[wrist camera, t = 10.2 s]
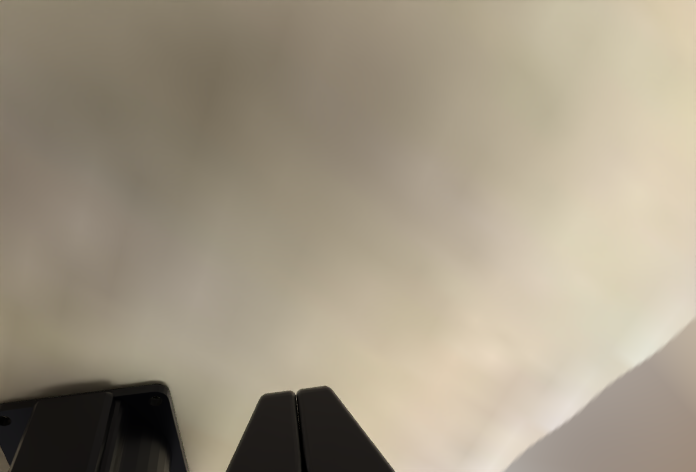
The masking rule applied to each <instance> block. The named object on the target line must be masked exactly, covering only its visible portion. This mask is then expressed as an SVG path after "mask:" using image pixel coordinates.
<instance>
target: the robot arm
mask: <svg viewBox="0 0 696 472" xmlns="http://www.w3.org/2000/svg"><path fill="white" fill-rule="evenodd" d="M154 396H158V397H160V398H158V399H156V398H153V397H154ZM296 398H297V401H296ZM297 408H298V410H297ZM3 416H6V417H9V418H5V417H3ZM298 418H299V420H298ZM299 428H300V429H299ZM0 446H1V448H2V450H3V453H4V455H5V457H6V459H7V461H8V463H9V465H10V469H9V471H8V472H189V468H188V464H187V460H186V456H185V452H184V448H183V443H182V439H181V435H180V431H179V427H178V423H177V419H176V415H175V411H174V406H173V402H172V398H171V394H170V391H169V389H168V388H167V387H165V386H163V385H160V384H152V385H144V386H136V387H128V388H121V389H113V390H105V391H97V392H89V393H81V394H73V395H65V396H58V397H50V398H42V399H34V400H26V401H18V402H10V403H3V404H0ZM226 472H395V471H394V469H393V468H392V467H391V466H390V464H389V463H388V462H387V460H386V459H385V458H384V456H383V455H382V454H381V453H380V451H379V450H378V449H377V447H376V446H375V445H374V443H373V442H372V441H371V440H370V438H369V437H368V436H367V434H366V433H365V432H364V430H363V429H362V428H361V427H360V425H359V424H358V423H357V421H356V420H355V419H354V417H353V416H352V415H351V414H350V412H349V411H348V410H347V408H346V407H345V406H344V404H343V403H342V402H341V401H340V399H339V398H338V397H337V395H336V394H335V393H334V391H333V390H332V389H331V388H330V387H327V386H321V387H313V388H305V389H300V390H299V391H298V392H297V394H296V395H295V393H294V392H293V391H282V392H275V393H267V394H264V395H263V396H261V398H260V399H259V401H258V403H257V405H256V408H255V410H254V412H253V414H252V416H251V418H250V421H249V423H248V425H247V427H246V429H245V431H244V434H243V436H242V438H241V440H240V442H239V444H238V447H237V449H236V451H235V453H234V455H233V457H232V460H231V462H230V464H229V466H228V468H227V470H226Z"/></svg>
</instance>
